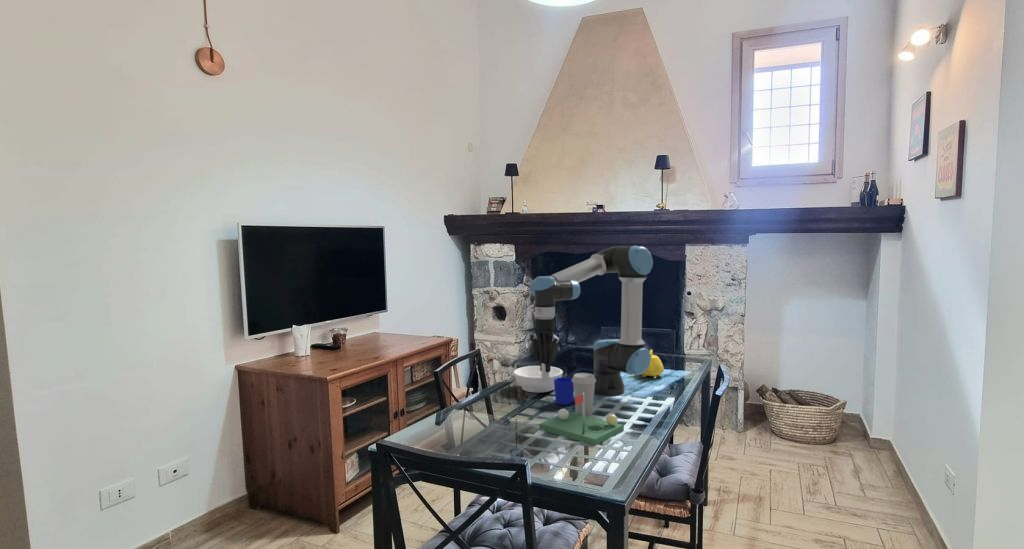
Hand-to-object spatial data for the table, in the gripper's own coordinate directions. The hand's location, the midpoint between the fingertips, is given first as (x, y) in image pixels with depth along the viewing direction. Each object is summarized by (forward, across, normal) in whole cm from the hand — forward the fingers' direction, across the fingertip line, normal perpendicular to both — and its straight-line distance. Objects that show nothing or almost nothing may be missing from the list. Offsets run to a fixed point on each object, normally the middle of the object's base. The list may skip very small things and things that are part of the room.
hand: (545, 380), depth 205 cm
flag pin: (+14, +22, -9) cm, 27 cm away
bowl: (+16, -30, +31) cm, 46 cm away
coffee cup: (+16, +6, +16) cm, 23 cm away
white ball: (+12, +8, 0) cm, 14 cm away
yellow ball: (+11, +25, +6) cm, 28 cm away
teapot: (+15, -3, +83) cm, 85 cm away
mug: (+16, -6, +22) cm, 28 cm away
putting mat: (+16, +16, 0) cm, 22 cm away
